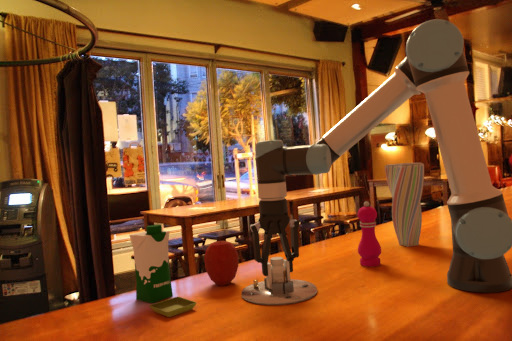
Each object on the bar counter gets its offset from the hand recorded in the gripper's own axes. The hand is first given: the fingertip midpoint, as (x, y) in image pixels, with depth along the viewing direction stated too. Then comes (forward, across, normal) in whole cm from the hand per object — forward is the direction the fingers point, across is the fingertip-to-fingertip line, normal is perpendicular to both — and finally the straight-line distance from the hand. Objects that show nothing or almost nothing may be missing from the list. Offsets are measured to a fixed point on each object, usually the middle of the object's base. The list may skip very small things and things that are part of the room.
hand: (278, 285), depth 120 cm
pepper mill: (+2, -35, -14) cm, 38 cm away
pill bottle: (+1, 0, 0) cm, 1 cm away
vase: (+2, -61, -32) cm, 69 cm away
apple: (+2, +12, -16) cm, 20 cm away
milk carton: (+2, +32, -12) cm, 34 cm away
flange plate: (+2, 0, 0) cm, 2 cm away
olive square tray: (+2, +28, +1) cm, 28 cm away
